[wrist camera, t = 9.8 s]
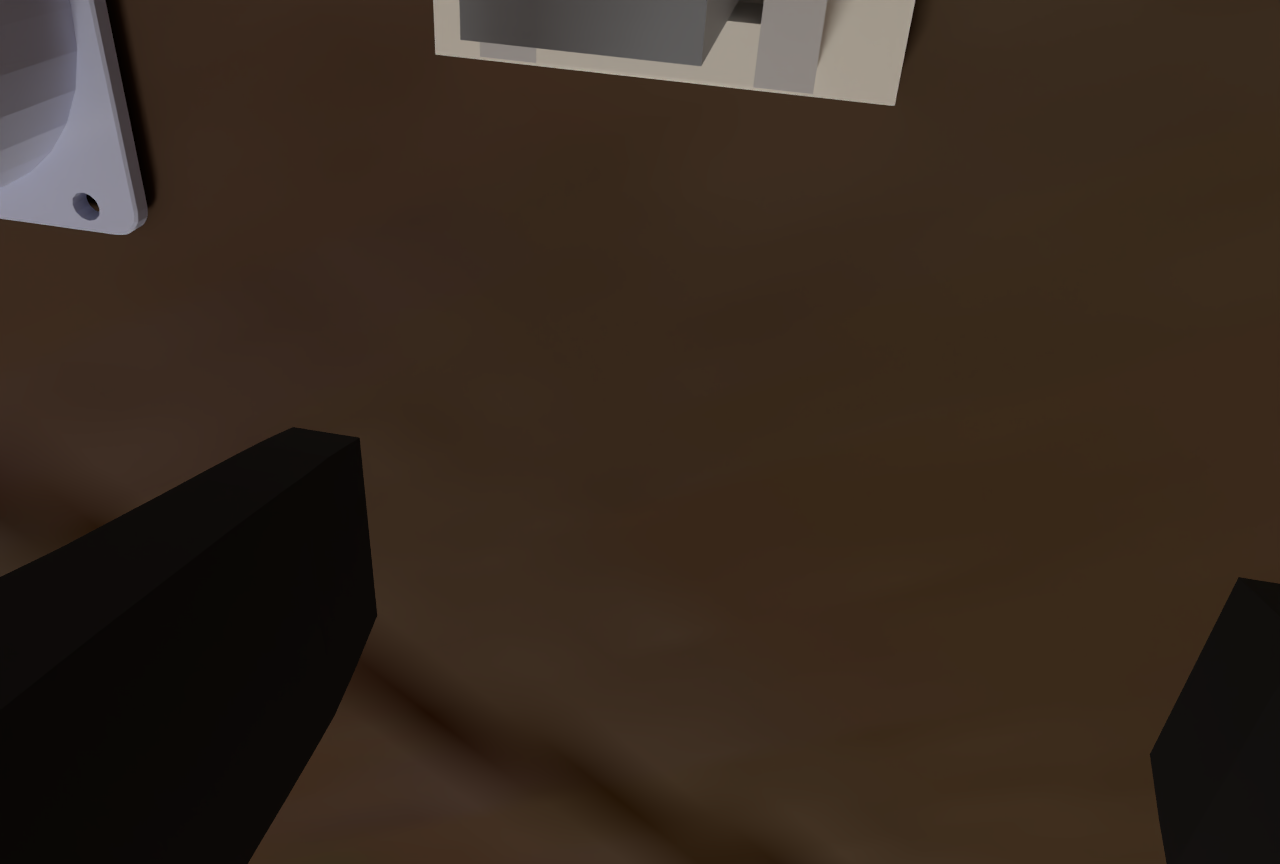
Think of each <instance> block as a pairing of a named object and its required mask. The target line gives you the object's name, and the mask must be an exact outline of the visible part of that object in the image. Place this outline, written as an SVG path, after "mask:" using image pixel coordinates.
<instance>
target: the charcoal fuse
mask: <svg viewBox="0 0 1280 864" xmlns="http://www.w3.org/2000/svg"><path fill="white" fill-rule="evenodd" d="M738 1H739V0H459V7H460V40H466V41H475V42H485V43H494V44H503V45H512V46H521V47H530V48H539V49H548V50H557V51H566V52H575V53H584V54H593V55H602V56H612V57H621V58H630V59H639V60H648V61H657V62H666V63H675V64H684V65H693V66H702V64H703V62H704V61H705V59H706V57H707V55H708V54H709V52H710V50H711V48H712V47H713V45H714V43H715V41H716V40H717V38H718V36H719V34H720V33H721V31H722V29H723V27H724V26H725V24H726V22H727V20H728V19H729V17H730V15H731V13H732V12H733V10H734V8H735V6H736V5H737V3H738Z"/></svg>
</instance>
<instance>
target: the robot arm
mask: <svg viewBox="0 0 1280 864" xmlns="http://www.w3.org/2000/svg"><path fill="white" fill-rule="evenodd" d="M86 194H88V195H90V196H91V197H92V198H93V199H94V200H95V201H96V202H97V204H98V206H99V208H100V210H99V212H98V211H96V210H95V209H93V208H92V207H91V206H90V205H89V202H88V200H87V198H86ZM147 217H148V209H147V202H146V197H145V192H144V188H143V183H142V178H141V173H140V168H139V163H138V158H137V153H136V148H135V143H134V138H133V134H132V129H131V124H130V119H129V114H128V109H127V104H126V99H125V94H124V89H123V84H122V79H121V75H120V70H119V65H118V60H117V55H116V50H115V45H114V40H113V35H112V30H111V25H110V20H109V16H108V11H107V6H106V1H105V0H0V219H7V220H14V221H22V222H29V223H36V224H43V225H51V226H58V227H65V228H72V229H79V230H87V231H94V232H101V233H108V234H115V235H125V234H129V233H131V232H132V231H134V230H136V229H137V228H139V227H140V226H142V225H143V224H144V223H145V221H146V219H147ZM376 617H377V610H376V599H375V589H374V579H373V569H372V559H371V549H370V539H369V529H368V519H367V509H366V499H365V488H364V478H363V468H362V458H361V448H360V438H358V437H351V436H345V435H339V434H332V433H326V432H320V431H313V430H307V429H301V428H295V427H293V428H290V429H288V430H286V431H284V432H281V433H279V434H277V435H275V436H273V437H270V438H268V439H266V440H264V441H262V442H260V443H258V444H256V445H254V446H252V447H250V448H248V449H246V450H244V451H242V452H240V453H238V454H237V455H235V456H233V457H231V458H229V459H227V460H225V461H223V462H221V463H219V464H218V465H216V466H214V467H212V468H210V469H208V470H206V471H204V472H203V473H201V474H199V475H197V476H195V477H193V478H191V479H190V480H188V481H186V482H184V483H182V484H180V485H178V486H177V487H175V488H173V489H171V490H169V491H167V492H165V493H164V494H162V495H160V496H158V497H156V498H154V499H152V500H150V501H148V502H147V503H145V504H143V505H141V506H139V507H137V508H135V509H133V510H131V511H129V512H128V513H126V514H124V515H122V516H120V517H118V518H116V519H114V520H112V521H111V522H109V523H107V524H105V525H103V526H101V527H99V528H97V529H95V530H94V531H92V532H90V533H88V534H86V535H84V536H82V537H80V538H78V539H76V540H75V541H73V542H71V543H69V544H67V545H65V546H63V547H61V548H59V549H57V550H55V551H53V552H51V553H49V554H47V555H45V556H43V557H41V558H39V559H37V560H35V561H33V562H31V563H28V564H26V565H24V566H22V567H20V568H18V569H16V570H14V571H12V572H10V573H8V574H6V575H4V576H2V577H0V864H248V862H249V861H250V859H251V857H252V856H253V854H254V852H255V850H256V849H257V847H258V845H259V844H260V842H261V840H262V839H263V837H264V835H265V834H266V832H267V830H268V829H269V827H270V825H271V824H272V822H273V820H274V819H275V817H276V815H277V813H278V812H279V810H280V808H281V807H282V805H283V803H284V802H285V800H286V798H287V797H288V795H289V793H290V792H291V790H292V788H293V786H294V785H295V783H296V781H297V780H298V778H299V776H300V774H301V773H302V771H303V769H304V768H305V766H306V764H307V762H308V761H309V759H310V757H311V756H312V754H313V752H314V750H315V749H316V747H317V745H318V744H319V742H320V740H321V738H322V737H323V735H324V733H325V731H326V730H327V728H328V726H329V724H330V723H331V721H332V719H333V717H334V715H335V713H336V711H337V709H338V706H339V704H340V702H341V700H342V697H343V695H344V693H345V691H346V688H347V686H348V684H349V682H350V680H351V677H352V675H353V673H354V671H355V668H356V666H357V663H358V661H359V658H360V656H361V654H362V651H363V649H364V646H365V644H366V641H367V639H368V637H369V634H370V632H371V629H372V627H373V624H374V622H375V619H376ZM1150 757H1151V765H1152V772H1153V779H1154V786H1155V793H1156V800H1157V808H1158V815H1159V822H1160V827H1161V833H1162V839H1163V845H1164V851H1165V856H1166V862H1167V864H1280V584H1277V583H1271V582H1265V581H1258V580H1252V579H1246V578H1240V577H1239V578H1238V580H1237V582H1236V584H1235V586H1234V588H1233V590H1232V592H1231V594H1230V596H1229V598H1228V600H1227V602H1226V604H1225V606H1224V608H1223V610H1222V612H1221V614H1220V616H1219V618H1218V620H1217V622H1216V624H1215V626H1214V628H1213V630H1212V632H1211V634H1210V636H1209V638H1208V640H1207V642H1206V644H1205V646H1204V648H1203V650H1202V652H1201V654H1200V656H1199V658H1198V660H1197V662H1196V664H1195V666H1194V668H1193V670H1192V672H1191V674H1190V676H1189V678H1188V680H1187V682H1186V684H1185V686H1184V688H1183V690H1182V692H1181V694H1180V696H1179V698H1178V700H1177V702H1176V704H1175V706H1174V708H1173V710H1172V712H1171V714H1170V716H1169V717H1168V719H1167V721H1166V723H1165V725H1164V727H1163V729H1162V731H1161V733H1160V735H1159V737H1158V739H1157V741H1156V743H1155V745H1154V747H1153V749H1152V751H1151V753H1150Z"/></svg>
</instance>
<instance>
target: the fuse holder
mask: <svg viewBox="0 0 1280 864" xmlns="http://www.w3.org/2000/svg"><path fill="white" fill-rule="evenodd" d="M433 5H434V29H435V54H436V55H445V56H454V57H463V58H472V59H481V60H490V61H498V62H507V63H516V64H525V65H534V66H543V67H552V68H561V69H570V70H579V71H587V72H596V73H605V74H614V75H623V76H632V77H641V78H650V79H659V80H668V81H677V82H685V83H694V84H703V85H712V86H721V87H730V88H739V89H748V90H757V91H766V92H775V93H783V94H792V95H801V96H810V97H819V98H828V99H837V100H846V101H855V102H864V103H872V104H881V105H890V106H895V101H896V96H897V91H898V85H899V80H900V75H901V70H902V65H903V60H904V55H905V50H906V45H907V40H908V35H909V30H910V25H911V20H912V15H913V10H914V5H915V0H739V1H738V3H737V5H736V6H735V8H734V10H733V12H732V13H731V15H730V17H729V19H728V20H727V22H726V24H725V26H724V27H723V29H722V31H721V33H720V34H719V36H718V38H717V40H716V41H715V43H714V45H713V47H712V48H711V50H710V52H709V54H708V55H707V57H706V59H705V61H704V62H703V64H702V66H693V65H684V64H675V63H666V62H657V61H648V60H639V59H630V58H621V57H612V56H602V55H593V54H584V53H575V52H566V51H557V50H548V49H539V48H530V47H521V46H512V45H503V44H494V43H485V42H475V41H466V40H460V7H459V0H433Z"/></svg>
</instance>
